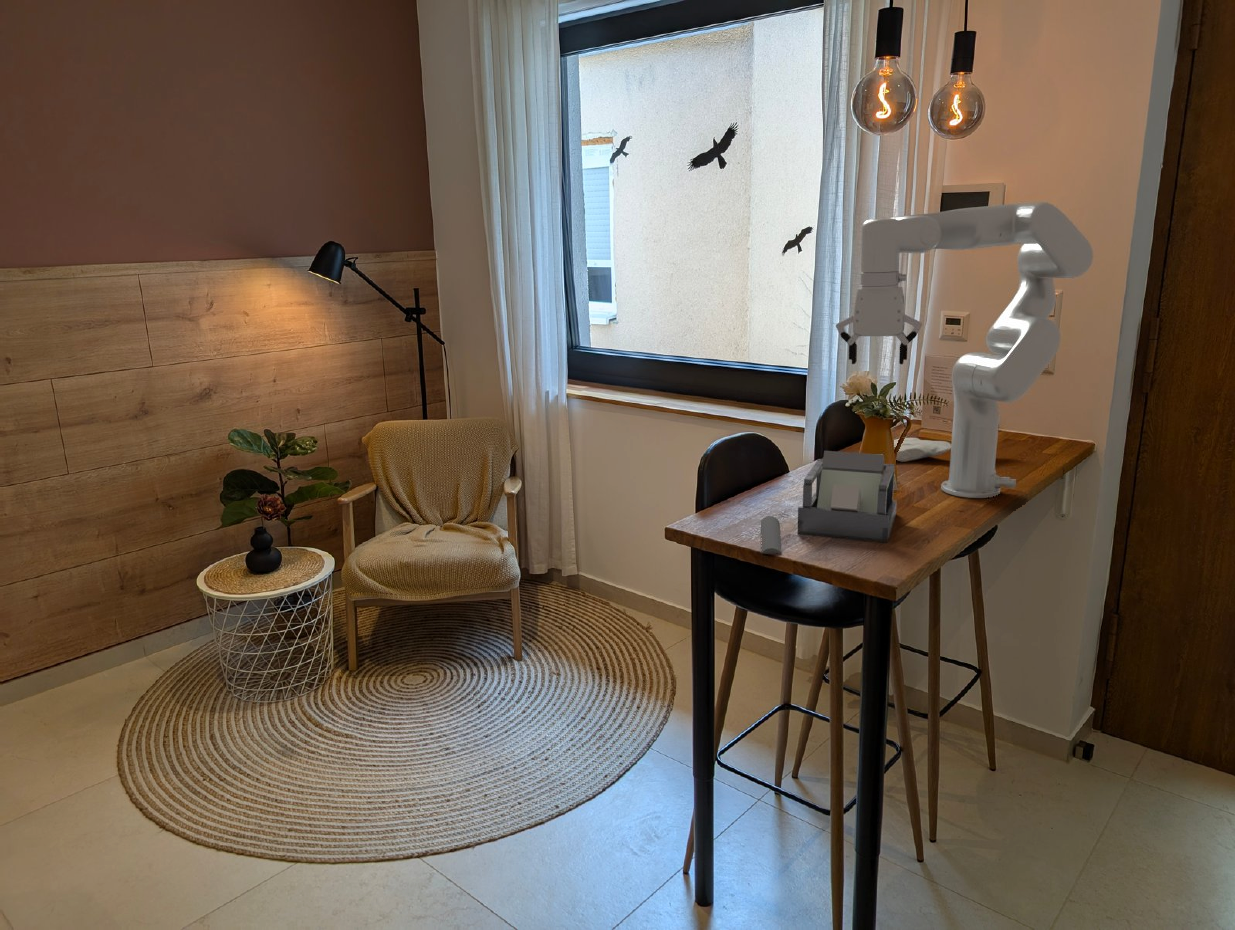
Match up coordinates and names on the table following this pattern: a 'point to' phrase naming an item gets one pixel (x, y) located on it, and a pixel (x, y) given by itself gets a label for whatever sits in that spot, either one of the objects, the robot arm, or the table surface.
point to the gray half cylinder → (770, 535)
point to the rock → (920, 449)
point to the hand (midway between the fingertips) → (877, 363)
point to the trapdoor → (851, 477)
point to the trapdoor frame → (847, 512)
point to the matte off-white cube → (846, 497)
